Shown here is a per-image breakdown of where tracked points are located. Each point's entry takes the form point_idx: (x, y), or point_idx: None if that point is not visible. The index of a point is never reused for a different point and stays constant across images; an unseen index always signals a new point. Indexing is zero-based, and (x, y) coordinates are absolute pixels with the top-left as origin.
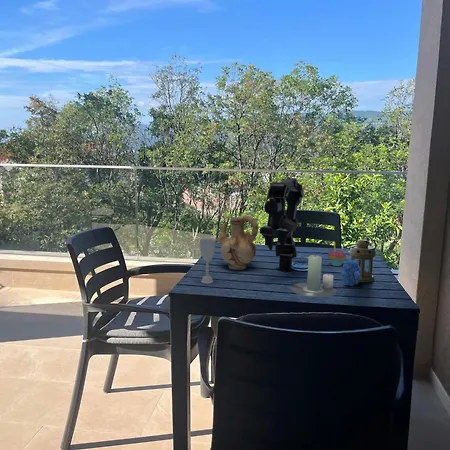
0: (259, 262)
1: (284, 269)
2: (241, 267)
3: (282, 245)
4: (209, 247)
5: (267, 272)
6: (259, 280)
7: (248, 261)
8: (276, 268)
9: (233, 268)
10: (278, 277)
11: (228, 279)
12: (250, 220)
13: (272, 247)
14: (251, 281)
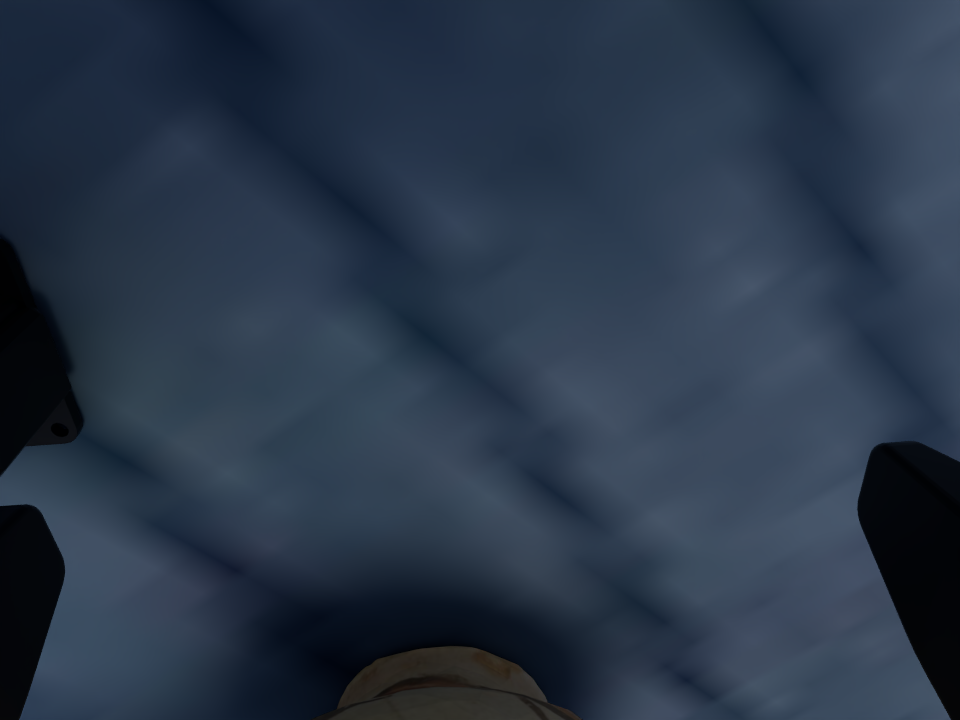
0: (53, 704)
1: (18, 309)
2: (481, 669)
3: (17, 566)
4: None
5: (306, 416)
6: (731, 254)
7: (448, 694)
8: (78, 430)
9: (543, 699)
10: (385, 152)
11: None
12: None
13: (957, 496)
14: (842, 299)
